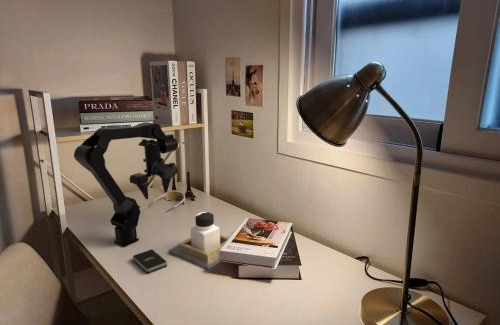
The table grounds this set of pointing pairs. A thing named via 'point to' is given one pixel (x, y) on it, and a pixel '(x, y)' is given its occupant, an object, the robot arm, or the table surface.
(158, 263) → the external hard drive
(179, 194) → the sunglasses
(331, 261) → the table surface
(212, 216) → the medicine bottle
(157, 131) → the robot arm
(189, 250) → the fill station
